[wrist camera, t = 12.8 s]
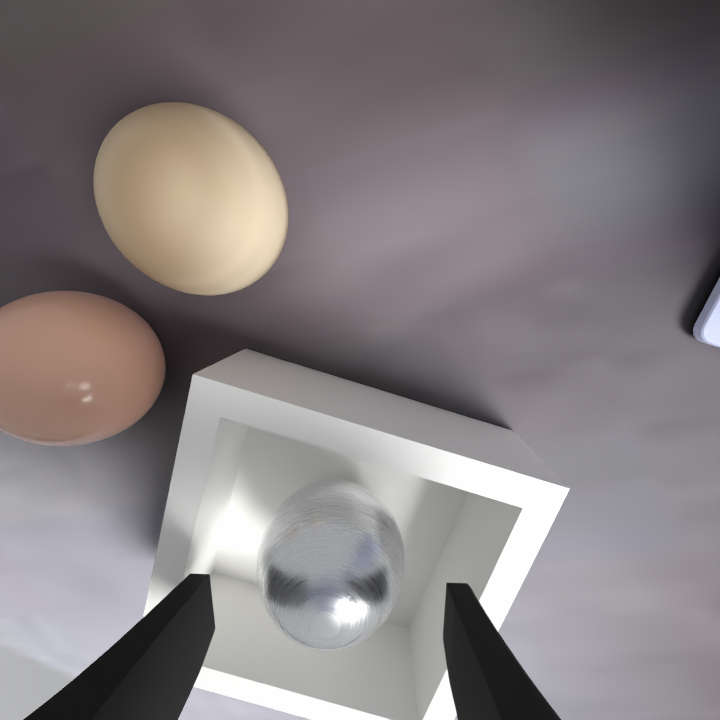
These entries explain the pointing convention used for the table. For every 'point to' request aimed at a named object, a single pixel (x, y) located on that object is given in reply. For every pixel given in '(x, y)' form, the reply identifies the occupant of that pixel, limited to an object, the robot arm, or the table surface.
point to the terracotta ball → (75, 368)
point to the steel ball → (330, 565)
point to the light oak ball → (191, 198)
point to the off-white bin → (374, 472)
